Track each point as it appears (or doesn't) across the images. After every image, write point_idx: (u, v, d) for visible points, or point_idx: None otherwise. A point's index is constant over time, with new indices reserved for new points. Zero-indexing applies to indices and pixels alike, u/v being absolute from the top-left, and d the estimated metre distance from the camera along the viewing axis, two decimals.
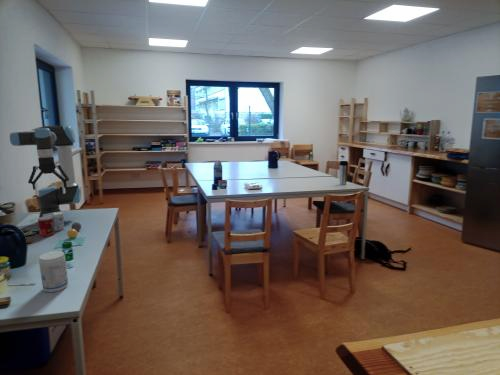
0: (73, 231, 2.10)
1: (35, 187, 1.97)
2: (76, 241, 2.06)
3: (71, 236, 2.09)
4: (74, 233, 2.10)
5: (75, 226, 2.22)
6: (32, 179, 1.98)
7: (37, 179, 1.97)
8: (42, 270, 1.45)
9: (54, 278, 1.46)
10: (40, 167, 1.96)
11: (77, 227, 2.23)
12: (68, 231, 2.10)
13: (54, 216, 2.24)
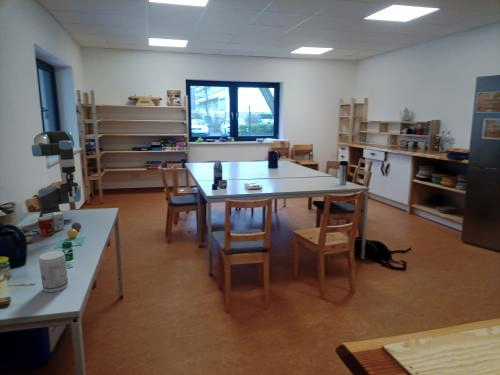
0: (73, 231, 2.10)
1: None
2: (76, 241, 2.06)
3: (71, 236, 2.09)
4: (74, 233, 2.10)
5: (75, 226, 2.22)
6: (72, 182, 2.32)
7: None
8: (42, 270, 1.45)
9: (54, 278, 1.46)
10: None
11: (77, 227, 2.23)
12: (68, 231, 2.10)
13: (54, 216, 2.24)
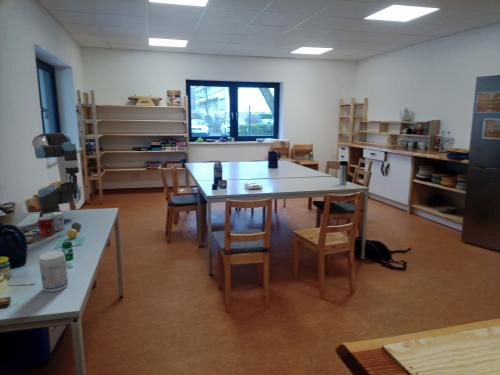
0: (73, 231, 2.10)
1: (73, 196, 2.30)
2: (76, 241, 2.06)
3: (71, 236, 2.09)
4: (74, 233, 2.10)
5: (75, 226, 2.22)
6: None
7: None
8: (42, 270, 1.45)
9: (54, 278, 1.46)
10: None
11: (77, 227, 2.23)
12: (68, 231, 2.10)
13: (54, 216, 2.24)
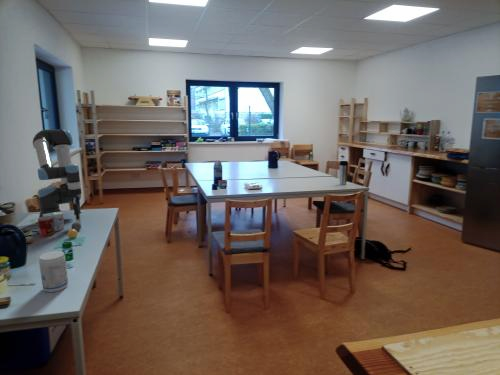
0: (73, 231, 2.10)
1: None
2: (76, 241, 2.06)
3: (71, 236, 2.09)
4: (74, 233, 2.10)
5: (75, 226, 2.22)
6: (79, 208, 2.35)
7: None
8: (42, 270, 1.45)
9: (54, 278, 1.46)
10: None
11: (77, 227, 2.23)
12: (68, 231, 2.10)
13: (54, 216, 2.24)
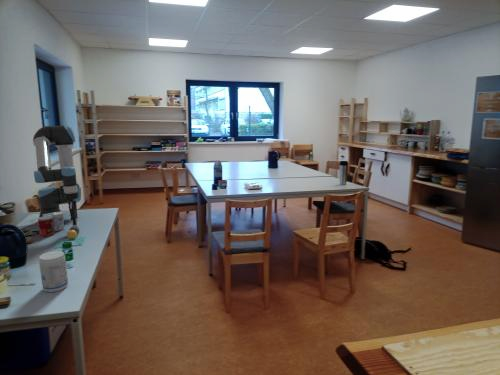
0: (73, 235, 2.08)
1: (72, 222, 2.21)
2: (76, 241, 2.06)
3: None
4: (74, 236, 2.08)
5: None
6: (75, 213, 2.23)
7: None
8: (42, 270, 1.45)
9: (54, 278, 1.46)
10: None
11: None
12: (67, 234, 2.07)
13: (54, 216, 2.24)
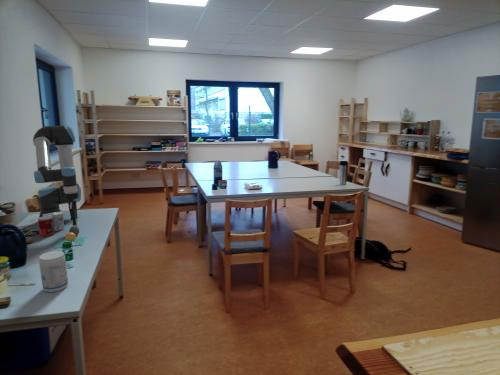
0: (72, 240, 2.06)
1: (72, 222, 2.21)
2: (76, 241, 2.06)
3: None
4: None
5: None
6: (75, 213, 2.23)
7: None
8: (42, 270, 1.45)
9: (54, 278, 1.46)
10: None
11: None
12: None
13: (54, 216, 2.24)
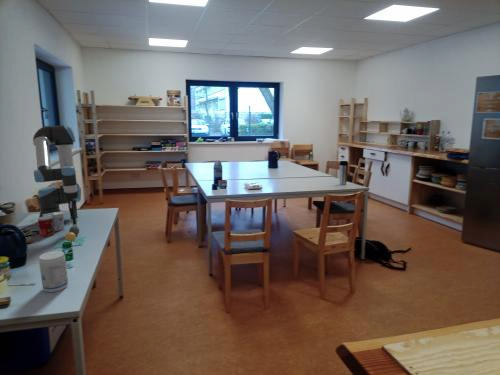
0: (72, 240, 2.06)
1: (72, 221, 2.21)
2: (76, 241, 2.06)
3: None
4: None
5: None
6: (75, 212, 2.23)
7: None
8: (42, 270, 1.45)
9: (54, 278, 1.46)
10: None
11: None
12: None
13: (54, 216, 2.24)
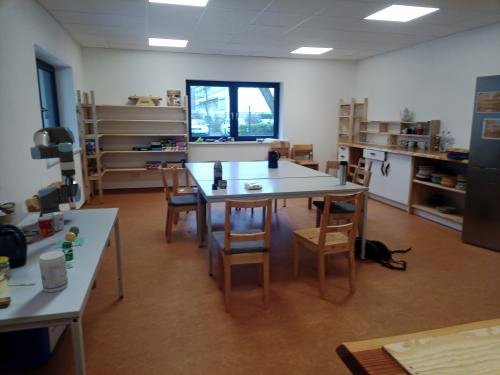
0: (72, 240, 2.06)
1: None
2: (76, 241, 2.06)
3: None
4: None
5: None
6: (73, 190, 2.20)
7: None
8: (42, 270, 1.45)
9: (54, 278, 1.46)
10: None
11: None
12: None
13: (54, 216, 2.24)
